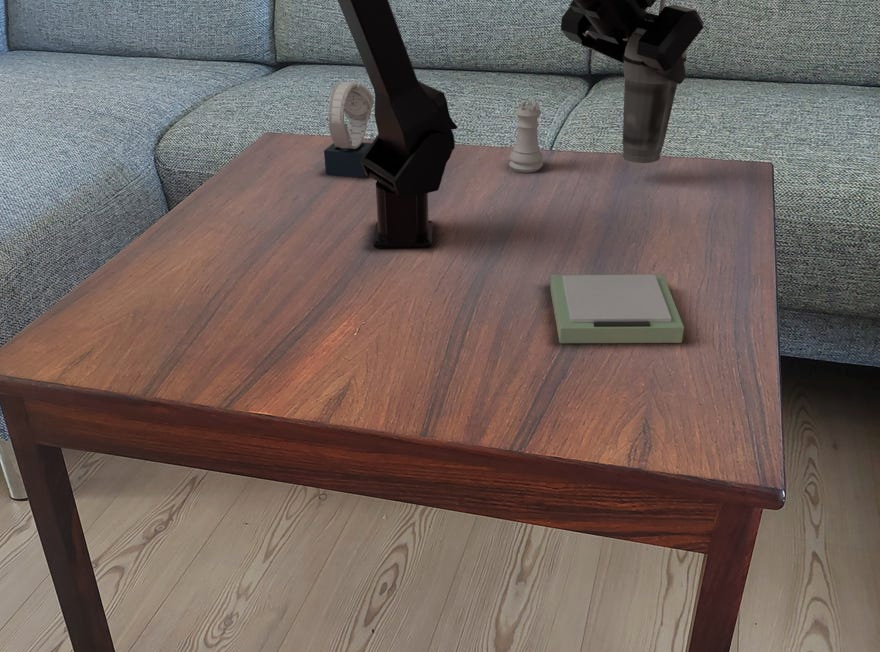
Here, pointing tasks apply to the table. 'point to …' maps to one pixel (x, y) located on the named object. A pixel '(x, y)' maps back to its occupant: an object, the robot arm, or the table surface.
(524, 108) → the rook chess piece
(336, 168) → the watch
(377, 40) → the robot arm
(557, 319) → the scale
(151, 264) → the table surface
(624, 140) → the beverage cup
